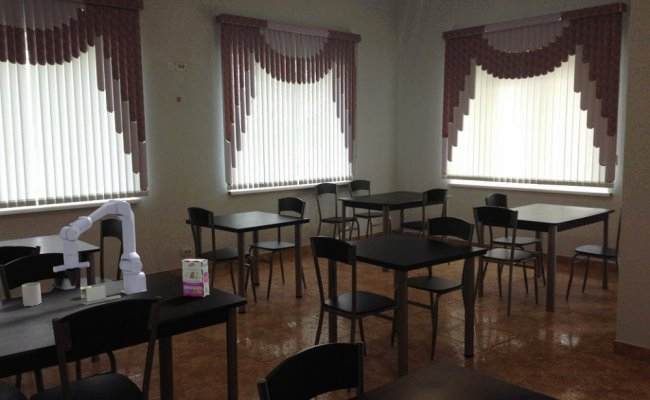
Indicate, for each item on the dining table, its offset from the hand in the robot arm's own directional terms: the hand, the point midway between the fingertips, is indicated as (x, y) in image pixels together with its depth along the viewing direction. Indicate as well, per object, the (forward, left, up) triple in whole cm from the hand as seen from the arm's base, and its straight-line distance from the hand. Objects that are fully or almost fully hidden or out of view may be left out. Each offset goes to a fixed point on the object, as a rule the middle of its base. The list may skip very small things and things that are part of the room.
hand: (73, 285), depth 257 cm
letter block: (-10, -13, -9) cm, 18 cm away
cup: (+12, -19, -9) cm, 24 cm away
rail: (-12, 0, -9) cm, 15 cm away
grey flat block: (-9, 0, -9) cm, 13 cm away
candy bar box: (-46, +23, -9) cm, 52 cm away
